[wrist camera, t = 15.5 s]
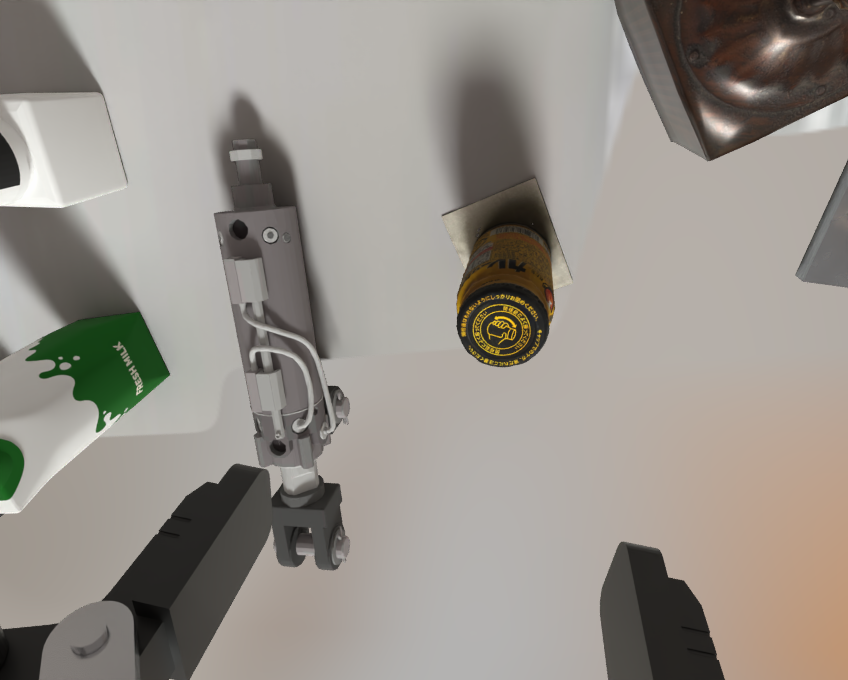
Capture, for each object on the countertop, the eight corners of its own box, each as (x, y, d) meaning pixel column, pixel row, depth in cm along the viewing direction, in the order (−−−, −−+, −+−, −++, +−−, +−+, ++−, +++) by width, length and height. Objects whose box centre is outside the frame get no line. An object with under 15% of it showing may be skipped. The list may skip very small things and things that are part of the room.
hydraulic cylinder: (306, 520, 54) (259, 593, 45) (243, 147, 43) (164, 142, 34) (373, 524, 53) (339, 601, 43) (326, 139, 42) (266, 131, 32)
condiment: (484, 312, 42) (468, 394, 32) (441, 216, 39) (409, 271, 29) (573, 281, 40) (587, 360, 29) (535, 176, 37) (536, 221, 26)
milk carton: (182, 381, 51) (3, 544, 34) (108, 388, 54) (-95, 544, 36) (143, 300, 48) (-79, 437, 30) (65, 311, 50) (-183, 444, 33)
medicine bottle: (23, 92, 40) (-153, 103, 30) (104, 91, 39) (-50, 102, 29) (55, 186, 44) (-93, 224, 33) (130, 188, 43) (1, 228, 32)
